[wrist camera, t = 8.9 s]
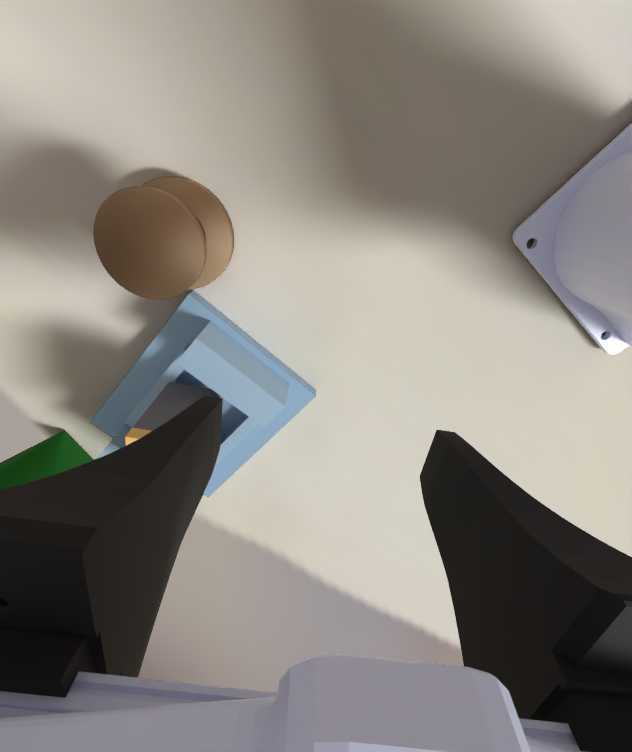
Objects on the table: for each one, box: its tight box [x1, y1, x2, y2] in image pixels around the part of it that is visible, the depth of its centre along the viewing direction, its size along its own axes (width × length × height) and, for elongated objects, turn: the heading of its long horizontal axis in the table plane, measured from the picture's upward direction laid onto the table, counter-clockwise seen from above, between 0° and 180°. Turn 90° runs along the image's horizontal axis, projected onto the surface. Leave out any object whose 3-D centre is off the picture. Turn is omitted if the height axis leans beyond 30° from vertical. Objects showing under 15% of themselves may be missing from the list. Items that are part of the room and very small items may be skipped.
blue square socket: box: [90, 290, 316, 497], centre depth 22 cm, size 9×11×3 cm
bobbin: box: [94, 177, 234, 300], centre depth 17 cm, size 5×5×4 cm
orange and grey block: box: [125, 382, 222, 445], centre depth 20 cm, size 3×4×5 cm
